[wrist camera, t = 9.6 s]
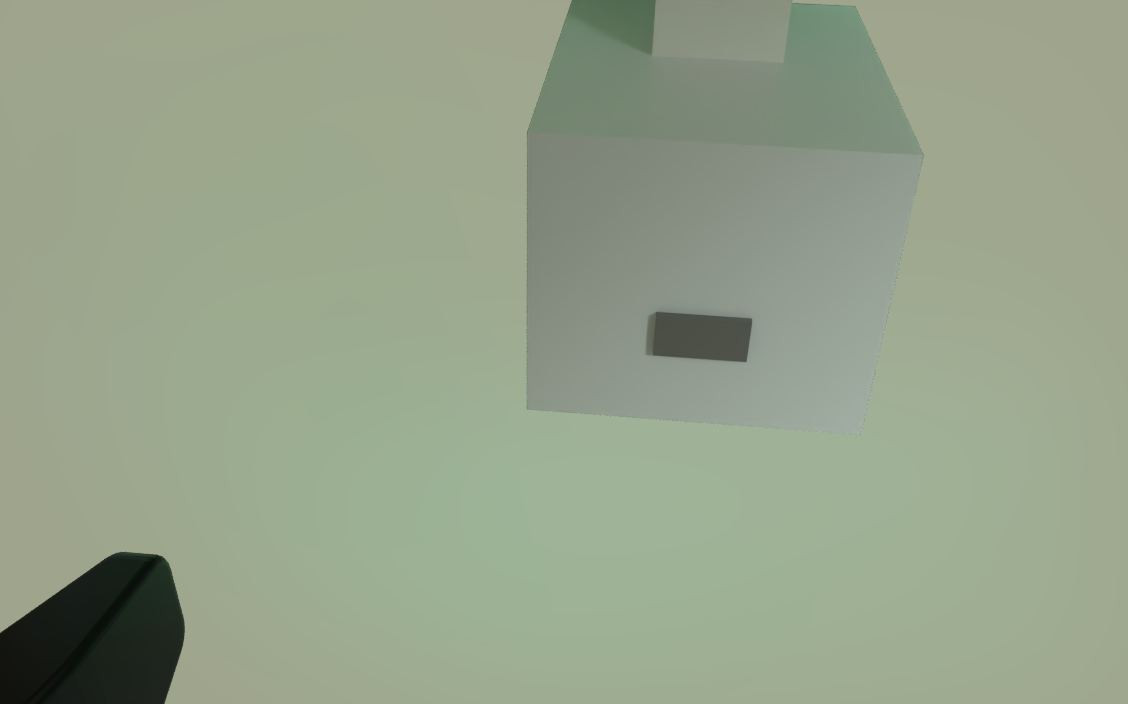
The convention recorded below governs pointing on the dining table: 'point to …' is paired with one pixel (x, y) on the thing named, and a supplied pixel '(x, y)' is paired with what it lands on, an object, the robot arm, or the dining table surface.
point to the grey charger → (714, 214)
